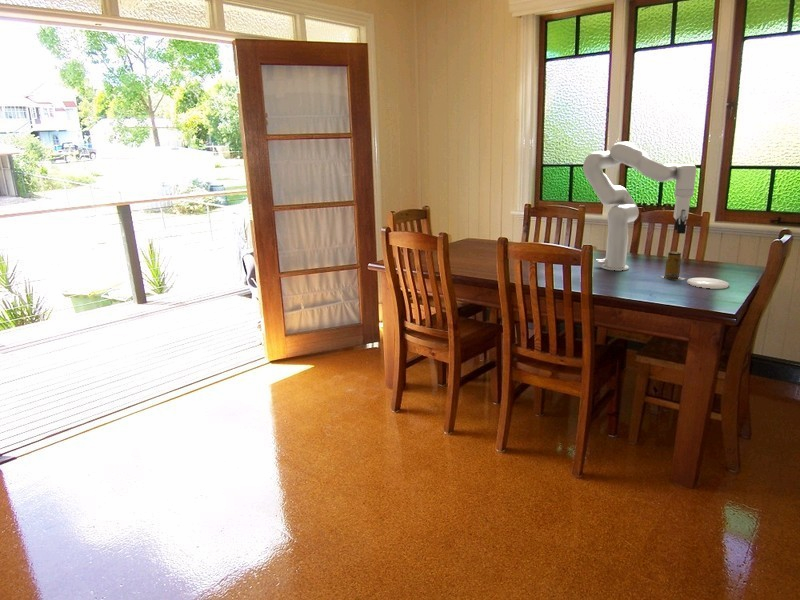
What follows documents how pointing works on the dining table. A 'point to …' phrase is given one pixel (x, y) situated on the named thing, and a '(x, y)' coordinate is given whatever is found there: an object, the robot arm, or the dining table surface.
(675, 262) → the condiment
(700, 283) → the plate
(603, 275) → the dining table surface
